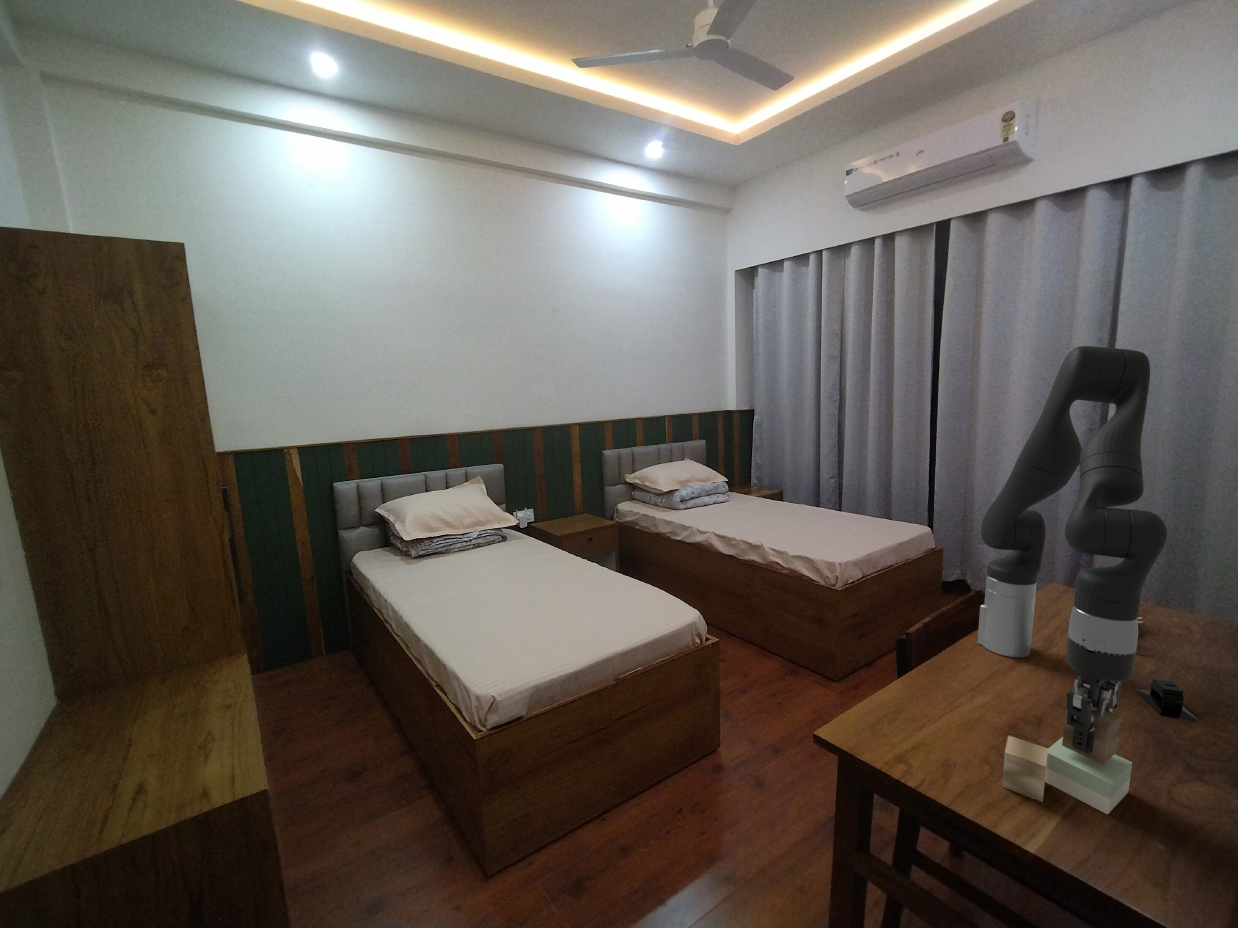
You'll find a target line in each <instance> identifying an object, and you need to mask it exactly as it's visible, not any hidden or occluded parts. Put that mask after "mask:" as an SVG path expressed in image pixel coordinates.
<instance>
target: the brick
mask: <svg viewBox="0 0 1238 928" xmlns="http://www.w3.org/2000/svg"><path fill="white" fill-rule="evenodd" d="M1006 740H1007V741H1006V744H1005V749H1004V756H1003V768H1002V781H1001V787H1003V788H1005V789H1006V790H1007V789H1008V790H1010V791H1012V792H1015V793H1018V794H1019V795H1022V796H1025V797H1028V798H1030V799H1033V800H1035V799H1037V800H1036V801H1038V800H1039V802H1040V801H1041V803H1043V802H1044V794H1045V785H1046V784H1045V783H1046V782H1045V775H1046V765H1047V755H1048V748H1047V747H1044V746H1042V745H1038V744H1035V743H1032V742H1029V741H1026V740H1023V739H1020V738H1017V737H1015V736H1012V735H1008V736H1007V739H1006Z"/></svg>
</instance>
